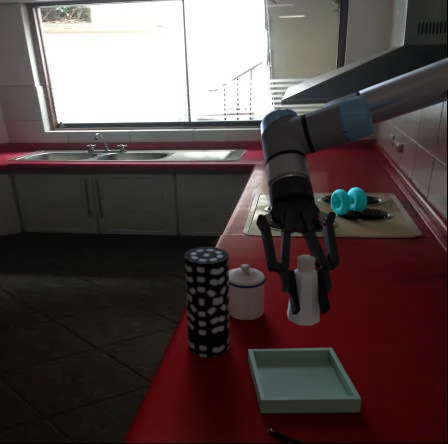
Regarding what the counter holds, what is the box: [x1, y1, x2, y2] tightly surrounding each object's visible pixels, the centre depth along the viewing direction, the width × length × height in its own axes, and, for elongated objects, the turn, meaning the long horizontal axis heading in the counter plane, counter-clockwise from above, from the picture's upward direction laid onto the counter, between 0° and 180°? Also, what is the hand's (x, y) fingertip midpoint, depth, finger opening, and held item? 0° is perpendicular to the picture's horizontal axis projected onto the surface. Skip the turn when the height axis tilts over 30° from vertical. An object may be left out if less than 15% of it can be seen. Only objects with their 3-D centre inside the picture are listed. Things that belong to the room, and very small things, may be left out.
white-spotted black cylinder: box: [184, 246, 230, 359], centre depth 82 cm, size 8×8×20 cm
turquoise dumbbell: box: [330, 187, 368, 216], centre depth 161 cm, size 10×10×10 cm
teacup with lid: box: [229, 263, 267, 321], centre depth 96 cm, size 12×9×12 cm
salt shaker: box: [286, 254, 321, 327], centre depth 68 cm, size 5×5×11 cm
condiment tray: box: [247, 347, 362, 414], centre depth 73 cm, size 16×14×3 cm
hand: (310, 311), depth 65 cm, fingers closed on salt shaker, 4 cm apart
